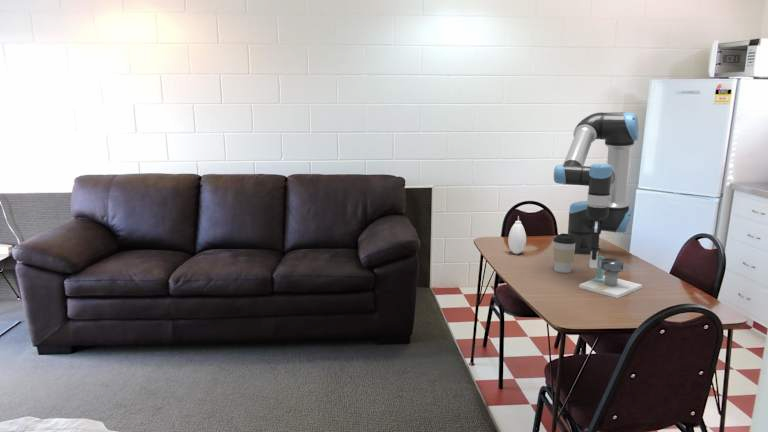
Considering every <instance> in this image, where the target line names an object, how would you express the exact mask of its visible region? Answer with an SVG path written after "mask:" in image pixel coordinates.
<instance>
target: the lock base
mask: <svg viewBox="0 0 768 432" xmlns="http://www.w3.org/2000/svg"><path fill="white" fill-rule="evenodd" d="M602 259H605V256H603V255H598V260H602ZM604 272H605V274H604ZM578 285H579V286H578V288H580V289H584V290H587V291H590V292H594V293H597V294H599V295H600V294H601V295H604V296H608V297H610V298H614V299H619V298H621V297H624V296H627V295H628V294H631V293H633V292H635V291H638V290H641V289H642V288H643V284H640V283H636V282H632V281H629V280H625V279H623V278H622V279H621V278H619V272H609V271H605V270H603V269H601V266H597V268H596V277H595V278H592V279H590V280H587V281H585V282H582V283H580V284H579V283H578Z"/></svg>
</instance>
